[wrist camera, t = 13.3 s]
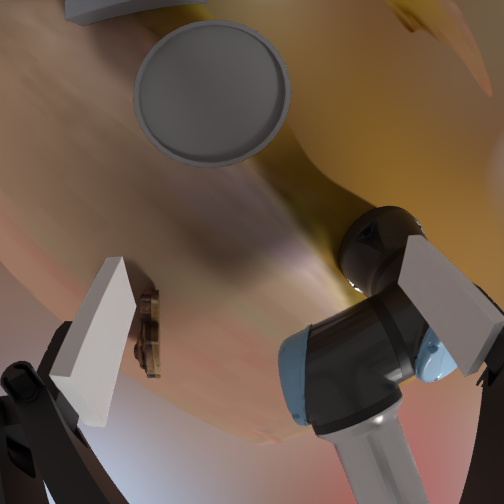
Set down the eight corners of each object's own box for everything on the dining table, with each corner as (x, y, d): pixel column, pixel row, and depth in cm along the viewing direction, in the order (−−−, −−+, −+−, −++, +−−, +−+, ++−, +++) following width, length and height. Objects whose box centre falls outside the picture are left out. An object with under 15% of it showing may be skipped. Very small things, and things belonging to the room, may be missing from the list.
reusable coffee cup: (155, 134, 35) (122, 162, 22) (171, 38, 29) (145, 10, 16) (254, 147, 38) (275, 182, 25) (274, 53, 32) (309, 35, 19)
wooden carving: (134, 277, 45) (120, 321, 37) (163, 278, 46) (154, 323, 37) (146, 349, 54) (139, 392, 45) (170, 350, 54) (166, 394, 46)
